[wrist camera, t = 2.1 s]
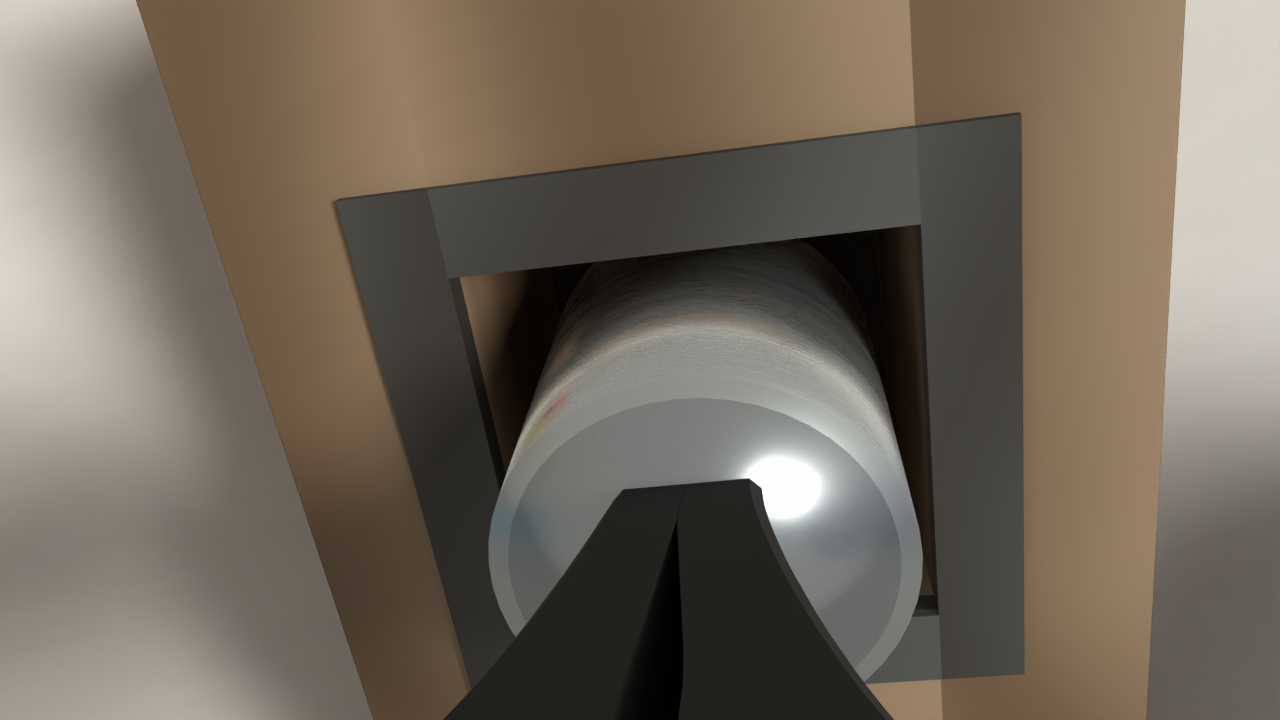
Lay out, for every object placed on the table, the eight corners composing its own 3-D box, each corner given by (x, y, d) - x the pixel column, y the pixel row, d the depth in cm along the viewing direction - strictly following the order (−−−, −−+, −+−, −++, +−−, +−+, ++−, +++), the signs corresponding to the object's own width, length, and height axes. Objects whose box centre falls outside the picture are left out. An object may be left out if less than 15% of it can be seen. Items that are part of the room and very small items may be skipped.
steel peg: (860, 195, 14) (912, 356, 10) (881, 485, 16) (931, 723, 11) (528, 235, 14) (445, 402, 10) (583, 510, 16) (532, 745, 12)
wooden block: (1051, -193, 14) (1201, -196, 10) (1045, 1025, 24) (1115, 1306, 20) (303, -73, 16) (123, -24, 11) (593, 1034, 26) (561, 1299, 21)
